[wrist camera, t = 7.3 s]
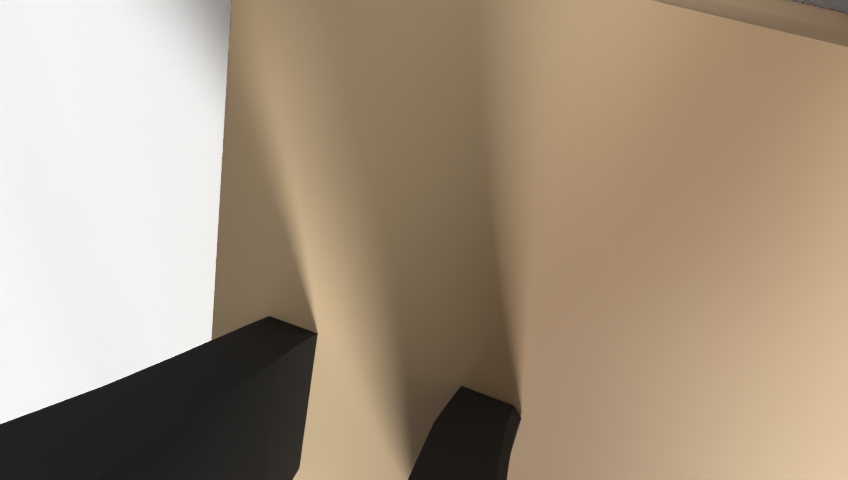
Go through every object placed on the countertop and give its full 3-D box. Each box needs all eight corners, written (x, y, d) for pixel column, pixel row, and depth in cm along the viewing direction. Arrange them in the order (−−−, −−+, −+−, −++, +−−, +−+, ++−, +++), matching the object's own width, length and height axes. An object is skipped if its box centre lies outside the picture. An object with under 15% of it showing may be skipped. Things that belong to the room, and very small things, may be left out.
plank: (1271, 111, 7) (1446, 188, 5) (791, 775, 12) (806, 920, 10) (325, -107, 9) (237, -99, 7) (255, 553, 14) (193, 647, 12)
